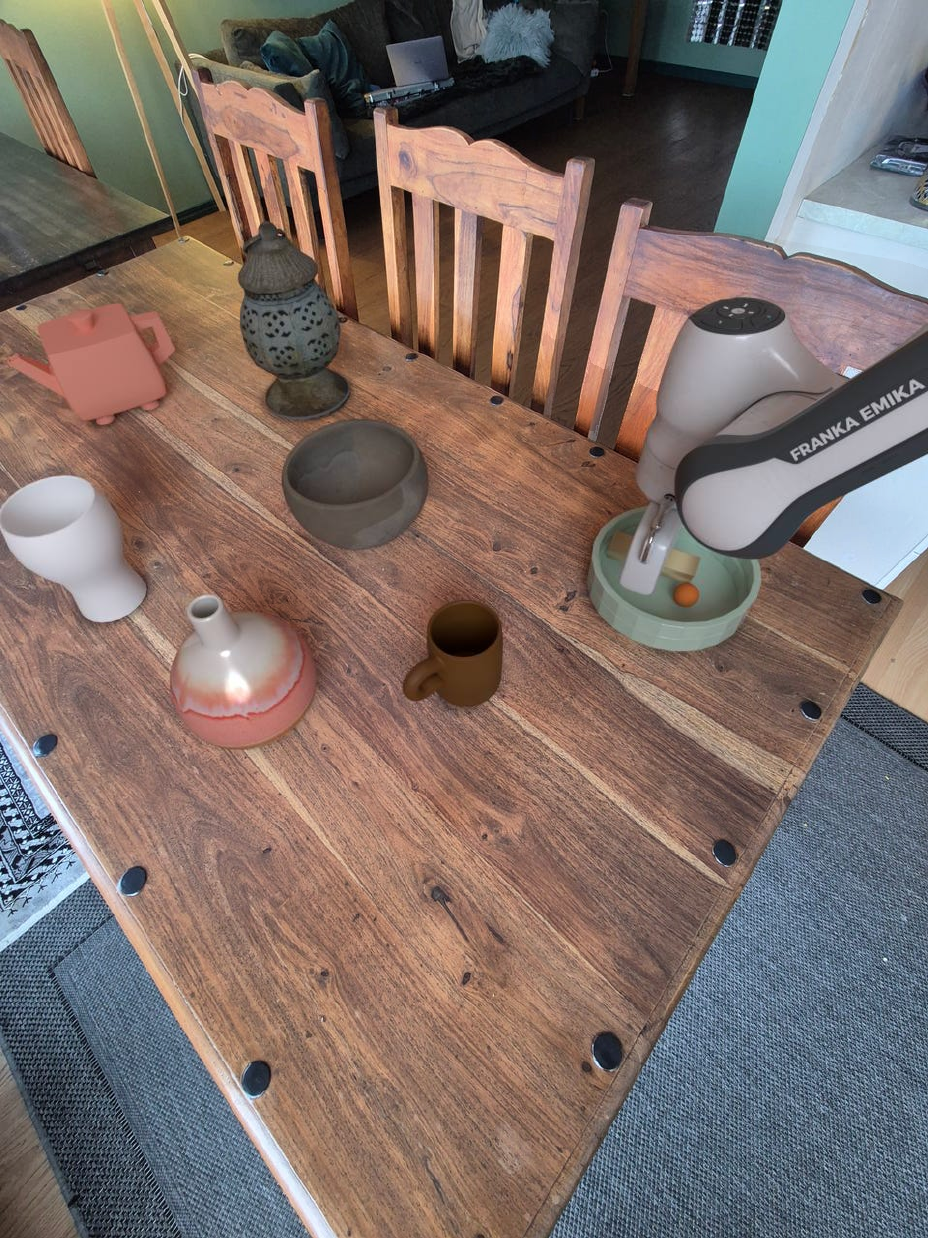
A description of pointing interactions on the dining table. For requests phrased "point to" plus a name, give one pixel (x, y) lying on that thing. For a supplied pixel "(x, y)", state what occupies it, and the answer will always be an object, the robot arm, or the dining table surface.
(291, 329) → the lantern
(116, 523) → the cup
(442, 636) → the mug
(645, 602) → the bowl
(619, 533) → the stick
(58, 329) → the teapot
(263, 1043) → the dining table surface
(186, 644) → the vase
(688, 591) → the bead
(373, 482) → the bowl
